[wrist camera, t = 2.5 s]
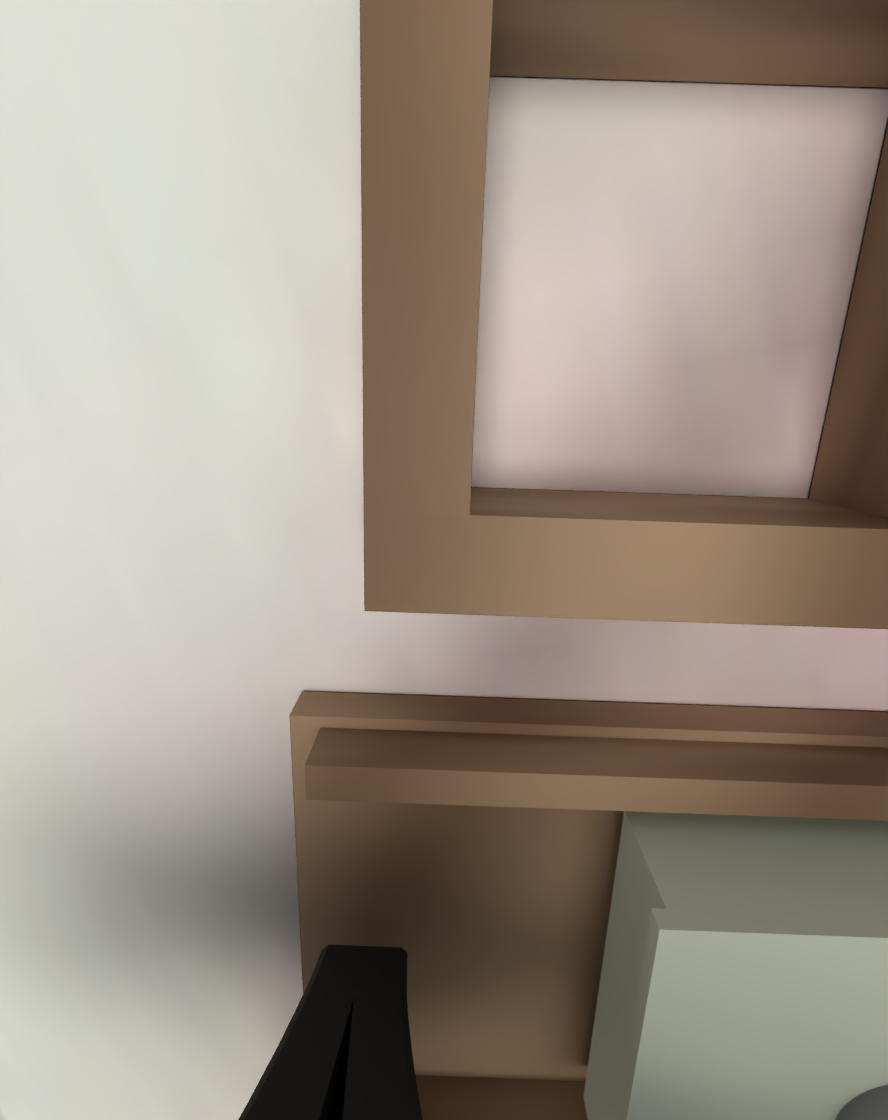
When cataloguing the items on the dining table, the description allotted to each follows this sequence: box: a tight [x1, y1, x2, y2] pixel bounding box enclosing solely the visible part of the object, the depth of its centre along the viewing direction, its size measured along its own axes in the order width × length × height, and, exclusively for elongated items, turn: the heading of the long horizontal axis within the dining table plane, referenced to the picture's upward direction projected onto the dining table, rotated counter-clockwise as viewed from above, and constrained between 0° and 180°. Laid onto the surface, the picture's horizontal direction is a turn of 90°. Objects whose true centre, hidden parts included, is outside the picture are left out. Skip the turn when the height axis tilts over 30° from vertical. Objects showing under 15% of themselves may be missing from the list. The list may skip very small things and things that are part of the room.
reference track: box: [290, 691, 888, 1120], centre depth 10 cm, size 18×9×2 cm, turn 88°
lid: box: [583, 811, 888, 1120], centre depth 8 cm, size 7×7×3 cm
